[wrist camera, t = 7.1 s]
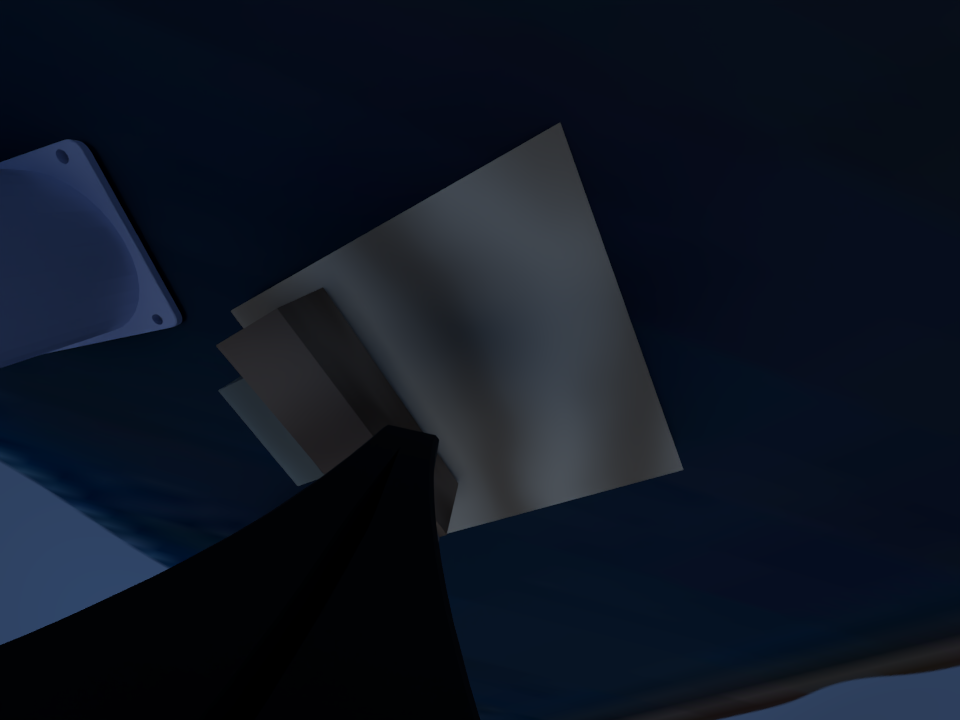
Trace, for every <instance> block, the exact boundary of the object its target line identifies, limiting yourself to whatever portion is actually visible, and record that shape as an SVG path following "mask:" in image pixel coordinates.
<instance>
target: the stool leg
mask: <svg viewBox="0 0 960 720" xmlns="http://www.w3.org/2000/svg"><path fill="white" fill-rule="evenodd" d="M216 346H217V347H218V349H219V350H220V351H221V352H222V353H223V355H224V356H225V357H226V358H227V359H228V361H229V362H230V363H231V364H232V365H233V366H234V368H235V369H236V370H237V371H238V372H239V374H240V375H241V376H242V377H243V378H244V380H245V381H246V382H247V383H248V384H249V386H250V387H251V388H252V389H253V390H254V391H255V393H256V394H257V395H258V396H259V397H260V399H261V400H262V401H263V402H264V403H265V405H266V406H267V407H268V408H269V409H270V410H271V412H272V413H273V414H274V415H275V416H276V418H277V419H278V420H279V421H280V422H281V424H282V425H283V426H284V427H285V428H286V429H287V431H288V432H289V433H290V434H291V435H292V437H293V438H294V439H295V440H296V441H297V443H298V444H299V445H300V446H301V447H302V448H303V450H304V451H305V452H306V453H307V454H308V456H309V457H310V458H311V459H312V460H313V462H314V463H315V464H316V465H317V466H318V468H319V469H320V470H321V471H322V472H323V473H324V475H325V474H326V473H327V472H329V471H330V470H331V469H333V468H334V467H335V466H337V465H338V464H339V463H341V462H342V461H343V460H344V459H346V458H347V457H348V456H350V455H351V454H352V453H353V452H355V451H356V450H357V449H358V448H360V447H361V446H362V445H363V444H364V443H366V442H367V441H368V440H369V439H370V438H372V437H373V436H374V435H375V434H376V433H377V432H379V431H380V430H381V429H382V428H383V427H385V426H387V425H392V426H397V427H401V428H406V429H410V430H415V431H420V432H423V431H422V430H421V428H420V427H419V426H418V424H417V423H416V421H415V420H414V418H413V417H412V415H411V414H410V413H409V411H408V410H407V408H406V407H405V405H404V404H403V402H402V401H401V399H400V398H399V397H398V395H397V394H396V392H395V391H394V389H393V388H392V386H391V385H390V384H389V382H388V381H387V379H386V378H385V376H384V375H383V373H382V372H381V371H380V369H379V368H378V366H377V365H376V363H375V362H374V360H373V359H372V357H371V356H370V355H369V353H368V352H367V350H366V349H365V347H364V346H363V344H362V343H361V342H360V340H359V339H358V337H357V336H356V334H355V333H354V331H353V330H352V328H351V327H350V326H349V324H348V323H347V321H346V320H345V318H344V317H343V315H342V314H341V313H340V311H339V310H338V308H337V307H336V305H335V304H334V302H333V301H332V300H331V298H330V297H329V295H328V294H327V292H326V291H325V289H324V288H323V287H322V288H320V289H318V290H316V291H314V292H311V293H309V294H307V295H305V296H303V297H300V298H298V299H296V300H294V301H292V302H290V303H287V304H285V305H283V306H281V307H279V308H277V309H275V310H273V311H272V312H270V313H268V314H267V315H265V316H263V317H262V318H260V319H259V320H257V321H255V322H254V323H252V324H250V325H249V326H247V327H245V328H244V329H242V330H241V331H239V332H237V333H236V334H234V335H232V336H231V337H229V338H228V339H226V340H224V341H223V342H221V343H219V344H218V345H216ZM457 488H458V482H457V481H456V479H455V478H454V476H453V475H452V473H451V472H450V470H449V469H448V468H447V466H446V465H445V463H444V462H443V460H442V459H441V457H440V456H439V455H438V453H437V457H436V463H435V469H434V501H435V516H436V526H437V534H438V542H439V538H440V537H441V536H444V535H447V531H448V527H449V523H450V518H451V514H452V510H453V505H454V501H455V497H456V493H457Z"/></svg>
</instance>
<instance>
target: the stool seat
mask: <svg viewBox="0 0 960 720" xmlns="http://www.w3.org/2000/svg"><path fill="white" fill-rule="evenodd" d="M322 287H323V288H324V289H325V291H326V292H327V294H328V295H329V297H330V298H331V300H332V301H333V302H334V304H335V305H336V307H337V308H338V310H339V311H340V313H341V314H342V315H343V317H344V318H345V320H346V321H347V323H348V324H349V326H350V327H351V328H352V330H353V331H354V333H355V334H356V336H357V337H358V339H359V340H360V342H361V343H362V344H363V346H364V347H365V349H366V350H367V352H368V353H369V355H370V356H371V357H372V359H373V360H374V362H375V363H376V365H377V366H378V368H379V369H380V371H381V372H382V373H383V375H384V376H385V378H386V379H387V381H388V382H389V384H390V385H391V386H392V388H393V389H394V391H395V392H396V394H397V395H398V397H399V398H400V399H401V401H402V402H403V404H404V405H405V407H406V408H407V410H408V411H409V413H410V414H411V415H412V417H413V418H414V420H415V421H416V423H417V424H418V426H419V427H420V428H421V430H422V431H423V432H424V433H429V434H433V435H436V436H437V437H438V439H439V445H438V451H437V453H438V455H439V456H440V457H441V459H442V460H443V462H444V463H445V465H446V466H447V468H448V469H449V470H450V472H451V473H452V475H453V476H454V478H455V479H456V481H457V482H458V488H457V493H456V497H455V501H454V505H453V510H452V514H451V518H450V523H449V527H448V531H447V533H451V532H455V531H458V530H462V529H466V528H469V527H473V526H477V525H481V524H484V523H488V522H492V521H495V520H499V519H503V518H506V517H510V516H514V515H518V514H521V513H525V512H529V511H532V510H536V509H540V508H544V507H547V506H551V505H555V504H558V503H562V502H566V501H569V500H573V499H577V498H581V497H584V496H588V495H592V494H595V493H599V492H603V491H606V490H610V489H614V488H618V487H621V486H625V485H629V484H632V483H636V482H640V481H644V480H647V479H651V478H655V477H658V476H662V475H666V474H669V473H673V472H677V471H681V470H683V467H682V465H681V462H680V459H679V456H678V453H677V451H676V448H675V445H674V442H673V439H672V436H671V434H670V431H669V428H668V425H667V422H666V420H665V417H664V414H663V411H662V408H661V405H660V403H659V400H658V397H657V394H656V391H655V389H654V386H653V383H652V380H651V377H650V374H649V372H648V369H647V366H646V363H645V360H644V357H643V355H642V352H641V349H640V346H639V343H638V341H637V338H636V335H635V332H634V329H633V326H632V324H631V321H630V318H629V315H628V312H627V310H626V307H625V304H624V301H623V298H622V295H621V293H620V290H619V287H618V284H617V281H616V279H615V276H614V273H613V270H612V267H611V264H610V262H609V259H608V256H607V253H606V250H605V247H604V245H603V242H602V239H601V236H600V233H599V231H598V228H597V225H596V222H595V219H594V216H593V214H592V211H591V208H590V205H589V202H588V200H587V197H586V194H585V191H584V188H583V185H582V183H581V180H580V177H579V174H578V171H577V169H576V166H575V163H574V160H573V157H572V154H571V152H570V149H569V146H568V143H567V140H566V137H565V135H564V132H563V129H562V126H561V123H558V124H557V125H555V126H553V127H551V128H550V129H548V130H546V131H544V132H543V133H541V134H539V135H537V136H536V137H534V138H532V139H530V140H529V141H527V142H525V143H523V144H522V145H520V146H518V147H516V148H515V149H513V150H511V151H509V152H508V153H506V154H504V155H502V156H501V157H499V158H497V159H495V160H494V161H492V162H490V163H488V164H487V165H485V166H483V167H481V168H480V169H478V170H476V171H474V172H473V173H471V174H469V175H467V176H466V177H464V178H462V179H460V180H459V181H457V182H455V183H453V184H452V185H450V186H448V187H446V188H445V189H443V190H441V191H439V192H438V193H436V194H434V195H432V196H431V197H429V198H427V199H425V200H424V201H422V202H420V203H418V204H417V205H415V206H413V207H411V208H410V209H408V210H406V211H404V212H403V213H401V214H399V215H397V216H396V217H394V218H392V219H390V220H389V221H387V222H385V223H383V224H382V225H380V226H378V227H376V228H375V229H373V230H371V231H369V232H368V233H366V234H364V235H362V236H361V237H359V238H357V239H355V240H354V241H352V242H350V243H348V244H347V245H345V246H343V247H341V248H340V249H338V250H336V251H334V252H333V253H331V254H329V255H327V256H326V257H324V258H322V259H320V260H319V261H317V262H315V263H313V264H312V265H310V266H308V267H306V268H305V269H303V270H301V271H299V272H298V273H296V274H294V275H292V276H291V277H289V278H287V279H285V280H284V281H282V282H280V283H278V284H277V285H275V286H273V287H271V288H270V289H268V290H266V291H264V292H263V293H261V294H259V295H257V296H256V297H254V298H252V299H250V300H249V301H247V302H245V303H243V304H242V305H240V306H238V307H236V308H235V309H233V310H231V312H232V314H233V315H234V316H235V318H236V319H237V320H238V322H239V323H240V324H241V326H242V327H243V328H245V327H247V326H249V325H250V324H252V323H254V322H255V321H257V320H259V319H260V318H262V317H263V316H265V315H267V314H268V313H270V312H272V311H273V310H275V309H277V308H279V307H281V306H283V305H285V304H287V303H290V302H292V301H294V300H296V299H298V298H300V297H303V296H305V295H307V294H309V293H311V292H314V291H316V290H318V289H320V288H322ZM218 391H219V392H220V393H221V395H222V396H223V397H224V398H225V399H226V401H227V402H228V403H229V404H230V405H231V407H232V408H233V409H234V410H235V411H236V413H237V414H238V415H239V416H240V417H241V419H242V420H243V421H244V422H245V423H246V425H247V426H248V427H249V428H250V429H251V431H252V432H253V433H254V434H255V435H256V437H257V438H258V439H259V440H260V441H261V443H262V444H263V445H264V446H265V447H266V449H267V450H268V451H269V452H270V453H271V455H272V456H273V457H274V458H275V459H276V461H277V462H278V463H279V464H280V465H281V467H282V468H283V469H284V470H285V471H286V473H287V474H288V475H289V476H290V477H291V479H292V480H293V481H294V482H295V483H296V485H297V486H300V485H302V484H305V483H308V482H311V481H314V480H316V479H319V478H321V477H322V476H323V475H324V473H323V472H322V471H321V470H320V469H319V468H318V466H317V465H316V464H315V463H314V462H313V460H312V459H311V458H310V457H309V456H308V454H307V453H306V452H305V451H304V450H303V448H302V447H301V446H300V445H299V444H298V443H297V441H296V440H295V439H294V438H293V437H292V435H291V434H290V433H289V432H288V431H287V429H286V428H285V427H284V426H283V425H282V424H281V422H280V421H279V420H278V419H277V418H276V416H275V415H274V414H273V413H272V412H271V410H270V409H269V408H268V407H267V406H266V405H265V403H264V402H263V401H262V400H261V399H260V397H259V396H258V395H257V394H256V393H255V391H254V390H253V389H252V388H251V387H250V386H249V384H248V383H247V382H246V381H245V380H244V378H243V377H242V376H240V377H239V378H237V379H236V380H234V381H233V382H231V383H229V384H228V385H226V386H225V387H223V388H222V389H220V390H218Z"/></svg>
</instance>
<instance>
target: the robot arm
mask: <svg viewBox="0 0 960 720" xmlns="http://www.w3.org/2000/svg"><path fill="white" fill-rule="evenodd" d="M67 155H68V157H67ZM68 158H69V159H68ZM160 317H161V318H162V319H161V318H160ZM181 322H182V315H181V313H180V311H179V309H178V308H177V306H176V304H175V302H174V300H173V299H172V297H171V295H170V293H169V291H168V290H167V288H166V286H165V284H164V282H163V281H162V279H161V277H160V275H159V273H158V272H157V270H156V268H155V266H154V264H153V263H152V261H151V259H150V257H149V255H148V253H147V252H146V250H145V248H144V246H143V244H142V243H141V241H140V239H139V237H138V235H137V234H136V232H135V230H134V228H133V226H132V225H131V223H130V221H129V219H128V217H127V216H126V214H125V212H124V210H123V208H122V207H121V205H120V203H119V201H118V199H117V198H116V196H115V194H114V192H113V190H112V189H111V187H110V185H109V183H108V181H107V180H106V178H105V176H104V174H103V172H102V170H101V169H100V167H99V165H98V163H97V161H96V160H95V158H94V156H93V154H92V152H91V151H90V149H89V148H88V147H87V146H86V145H85V144H84V143H83V142H80V141H78V140H70V139H67V140H62V141H60V142H57V143H54V144H51V145H48V146H45V147H42V148H40V149H37V150H34V151H31V152H28V153H25V154H22V155H20V156H17V157H14V158H11V159H8V160H5V161H2V162H0V368H2V367H5V366H8V365H11V364H14V363H17V362H20V361H23V360H26V359H30V358H33V357H36V356H39V355H42V354H46V353H50V352H55V351H60V350H65V349H70V348H75V347H79V346H84V345H89V344H94V343H99V342H104V341H108V340H113V339H118V338H123V337H128V336H133V335H137V334H142V333H147V332H152V331H157V330H162V329H166V328H171V327H174V326H177V325H179V324H181ZM438 445H439V439H438V437H437V436H436V435H433V434H429V433H424V432H420V431H415V430H410V429H406V428H401V427H397V426H392V425H387V426H385V427H383V428H382V429H381V430H380V431H379V432H377V433H376V434H375V435H374V436H373V437H372V438H370V439H369V440H368V441H367V442H366V443H364V444H363V445H362V446H361V447H360V448H358V449H357V450H356V451H355V452H353V453H352V454H351V455H350V456H348V457H347V458H346V459H344V460H343V461H342V462H341V463H339V464H338V465H337V466H335V467H334V468H333V469H331V470H330V471H329V472H327V473H326V474H325V475H323V476H322V477H321V478H319V479H318V480H317V481H315V482H314V483H312V484H311V485H309V486H308V487H306V488H305V489H303V490H302V491H301V492H299V493H298V494H296V495H295V496H293V497H292V498H290V499H289V500H287V501H286V502H285V503H283V504H281V505H280V506H278V507H277V508H275V509H274V510H272V511H271V512H269V513H267V514H266V515H264V516H263V517H261V518H259V519H258V520H256V521H254V522H253V523H251V524H249V525H248V526H246V527H244V528H243V529H241V530H239V531H237V532H236V533H234V534H232V535H231V536H229V537H227V538H225V539H223V540H222V541H220V542H218V543H216V544H214V545H212V546H211V547H209V548H207V549H205V550H203V551H201V552H200V553H198V554H196V555H194V556H192V557H190V558H189V559H187V560H185V561H183V562H181V563H179V564H177V565H175V566H173V567H171V568H169V569H167V570H165V571H163V572H161V573H160V574H157V575H156V576H153V577H152V578H150V579H147V580H145V581H143V582H141V583H139V584H137V585H134V586H132V587H130V588H128V589H126V590H124V591H122V592H120V593H117V594H115V595H113V596H111V597H109V598H107V599H105V600H103V601H100V602H98V603H96V604H94V605H92V606H90V607H88V608H85V609H83V610H81V611H79V612H77V613H75V614H72V615H70V616H68V617H66V618H63V619H61V620H59V621H57V622H55V623H52V624H50V625H47V626H45V627H43V628H40V629H38V630H36V631H34V632H31V633H29V634H27V635H24V636H22V637H20V638H17V639H14V640H12V641H10V642H7V643H5V644H2V645H0V720H480V718H479V714H478V711H477V708H476V704H475V701H474V698H473V694H472V691H471V688H470V684H469V680H468V676H467V673H466V669H465V665H464V661H463V657H462V653H461V649H460V646H459V642H458V638H457V634H456V630H455V626H454V622H453V618H452V613H451V609H450V604H449V599H448V595H447V590H446V585H445V579H444V574H443V568H442V563H441V556H440V550H439V543H438V534H437V526H436V516H435V501H434V469H435V463H436V457H437V451H438Z"/></svg>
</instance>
